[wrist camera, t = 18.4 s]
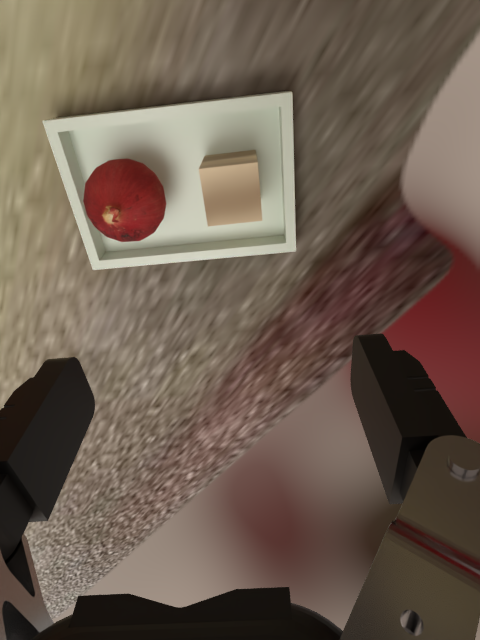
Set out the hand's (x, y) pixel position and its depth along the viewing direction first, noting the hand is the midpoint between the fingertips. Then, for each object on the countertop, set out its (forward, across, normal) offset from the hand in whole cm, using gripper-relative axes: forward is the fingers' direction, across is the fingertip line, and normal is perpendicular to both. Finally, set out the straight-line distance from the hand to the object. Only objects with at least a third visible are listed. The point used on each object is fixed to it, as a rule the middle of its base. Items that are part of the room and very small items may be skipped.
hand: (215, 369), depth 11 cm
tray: (+24, +4, 0) cm, 24 cm away
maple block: (+24, 0, 0) cm, 24 cm away
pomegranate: (+24, +8, 0) cm, 25 cm away
